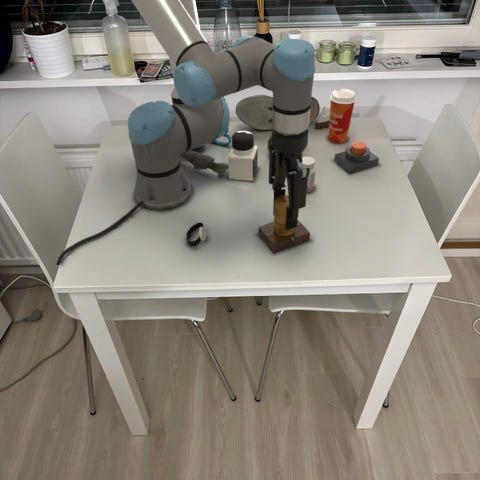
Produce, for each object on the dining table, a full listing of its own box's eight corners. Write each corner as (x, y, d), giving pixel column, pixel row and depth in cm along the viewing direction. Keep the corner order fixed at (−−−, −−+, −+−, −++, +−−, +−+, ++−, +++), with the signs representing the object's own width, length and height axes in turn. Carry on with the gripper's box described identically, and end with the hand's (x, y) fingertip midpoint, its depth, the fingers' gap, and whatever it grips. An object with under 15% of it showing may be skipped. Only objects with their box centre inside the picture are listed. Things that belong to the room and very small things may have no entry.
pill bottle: (293, 190, 131) (295, 162, 124) (300, 181, 133) (302, 154, 127) (309, 194, 129) (312, 166, 123) (316, 185, 132) (319, 158, 125)
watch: (202, 249, 115) (201, 237, 112) (183, 247, 115) (182, 235, 113) (208, 230, 120) (208, 218, 117) (190, 228, 120) (189, 216, 118)
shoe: (236, 131, 151) (231, 120, 160) (318, 128, 154) (309, 117, 164) (236, 97, 145) (231, 87, 154) (322, 94, 148) (312, 84, 157)
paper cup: (320, 136, 150) (325, 91, 139) (341, 130, 152) (347, 85, 141) (333, 147, 145) (340, 101, 135) (354, 141, 147) (362, 96, 137)
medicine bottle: (253, 181, 134) (253, 141, 125) (228, 179, 135) (227, 139, 126) (257, 168, 138) (258, 128, 129) (234, 166, 139) (232, 126, 130)
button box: (349, 173, 135) (351, 161, 132) (333, 160, 140) (335, 148, 137) (378, 164, 138) (380, 152, 135) (361, 152, 143) (364, 140, 140)
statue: (139, 158, 143) (225, 193, 136) (136, 135, 137) (226, 170, 130) (153, 146, 147) (237, 180, 140) (151, 124, 141) (239, 157, 134)
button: (356, 156, 135) (357, 149, 133) (348, 150, 137) (349, 143, 135) (367, 153, 136) (369, 146, 134) (359, 146, 138) (360, 140, 137)
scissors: (227, 122, 142) (173, 123, 151) (225, 124, 141) (171, 124, 150) (232, 143, 146) (179, 143, 155) (230, 145, 146) (178, 144, 155)
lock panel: (275, 255, 113) (275, 246, 111) (257, 233, 119) (257, 224, 117) (310, 242, 116) (311, 233, 114) (291, 221, 121) (292, 213, 119)
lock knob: (298, 232, 114) (301, 203, 108) (280, 238, 113) (281, 209, 107) (288, 220, 118) (290, 192, 111) (269, 226, 116) (270, 198, 110)
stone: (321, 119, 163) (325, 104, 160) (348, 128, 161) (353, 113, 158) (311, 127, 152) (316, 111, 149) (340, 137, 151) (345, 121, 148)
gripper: (331, 143, 91) (318, 237, 109) (284, 105, 102) (279, 196, 120) (297, 152, 89) (290, 247, 107) (253, 113, 100) (253, 205, 118)
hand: (284, 220), depth 113 cm, fingers open, 5 cm apart
